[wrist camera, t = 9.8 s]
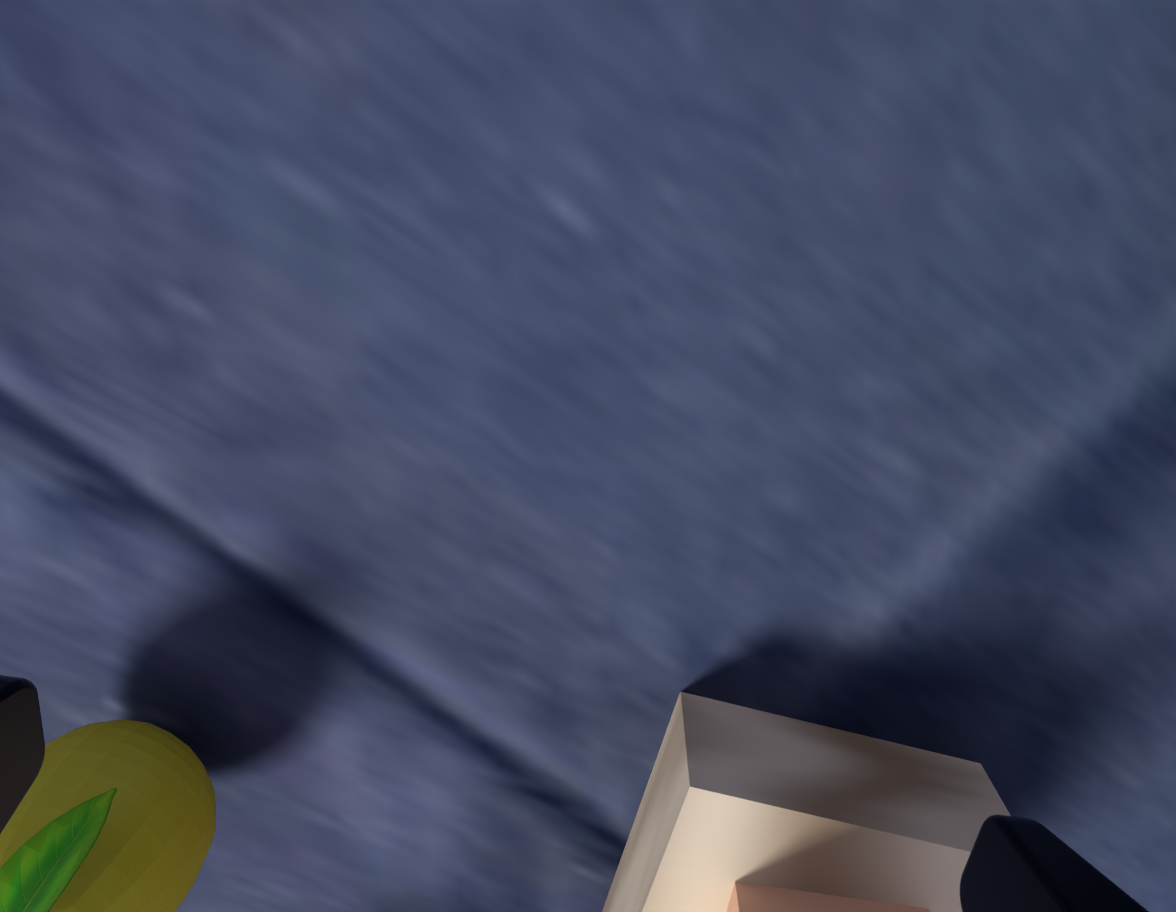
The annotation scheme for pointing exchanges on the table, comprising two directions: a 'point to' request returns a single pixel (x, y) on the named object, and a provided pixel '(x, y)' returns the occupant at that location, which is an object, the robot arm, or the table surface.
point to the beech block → (797, 815)
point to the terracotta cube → (802, 901)
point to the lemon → (109, 824)
